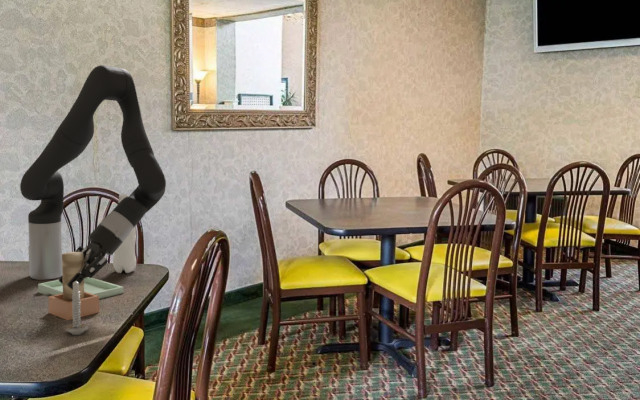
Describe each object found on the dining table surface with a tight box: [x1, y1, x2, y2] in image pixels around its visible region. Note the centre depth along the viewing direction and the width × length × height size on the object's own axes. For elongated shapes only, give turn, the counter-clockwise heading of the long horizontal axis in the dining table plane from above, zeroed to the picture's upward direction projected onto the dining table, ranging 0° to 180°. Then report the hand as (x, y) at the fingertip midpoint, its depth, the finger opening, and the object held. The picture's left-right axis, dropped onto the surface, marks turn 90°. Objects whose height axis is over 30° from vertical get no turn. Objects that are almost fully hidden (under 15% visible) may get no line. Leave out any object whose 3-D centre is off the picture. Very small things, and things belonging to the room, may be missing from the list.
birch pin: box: [62, 251, 84, 302], centre depth 158 cm, size 5×5×15 cm
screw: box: [64, 281, 89, 336], centre depth 144 cm, size 13×5×5 cm
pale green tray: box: [37, 277, 125, 300], centre depth 178 cm, size 20×14×2 cm
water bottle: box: [112, 193, 137, 274], centre depth 204 cm, size 7×7×25 cm
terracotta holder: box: [47, 291, 100, 321], centre depth 159 cm, size 9×9×5 cm
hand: (66, 285), depth 157 cm, fingers closed on birch pin, 5 cm apart
